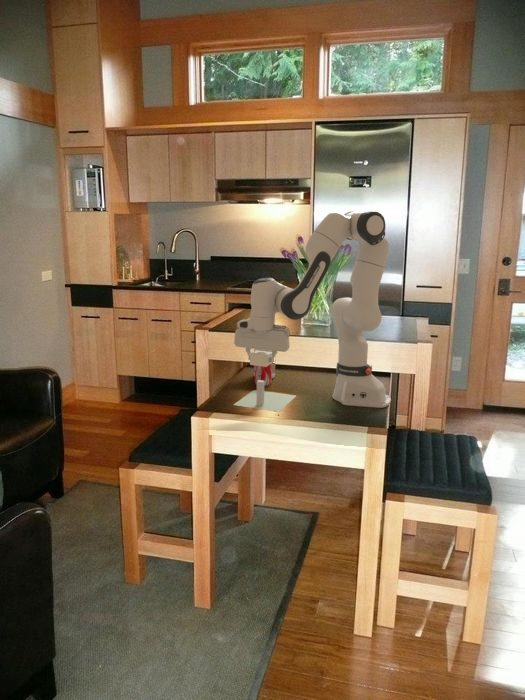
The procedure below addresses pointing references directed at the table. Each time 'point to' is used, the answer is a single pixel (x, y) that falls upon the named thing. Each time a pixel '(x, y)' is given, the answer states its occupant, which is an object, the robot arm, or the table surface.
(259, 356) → the square collar
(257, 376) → the soda can
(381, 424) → the table surface
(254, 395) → the post board
